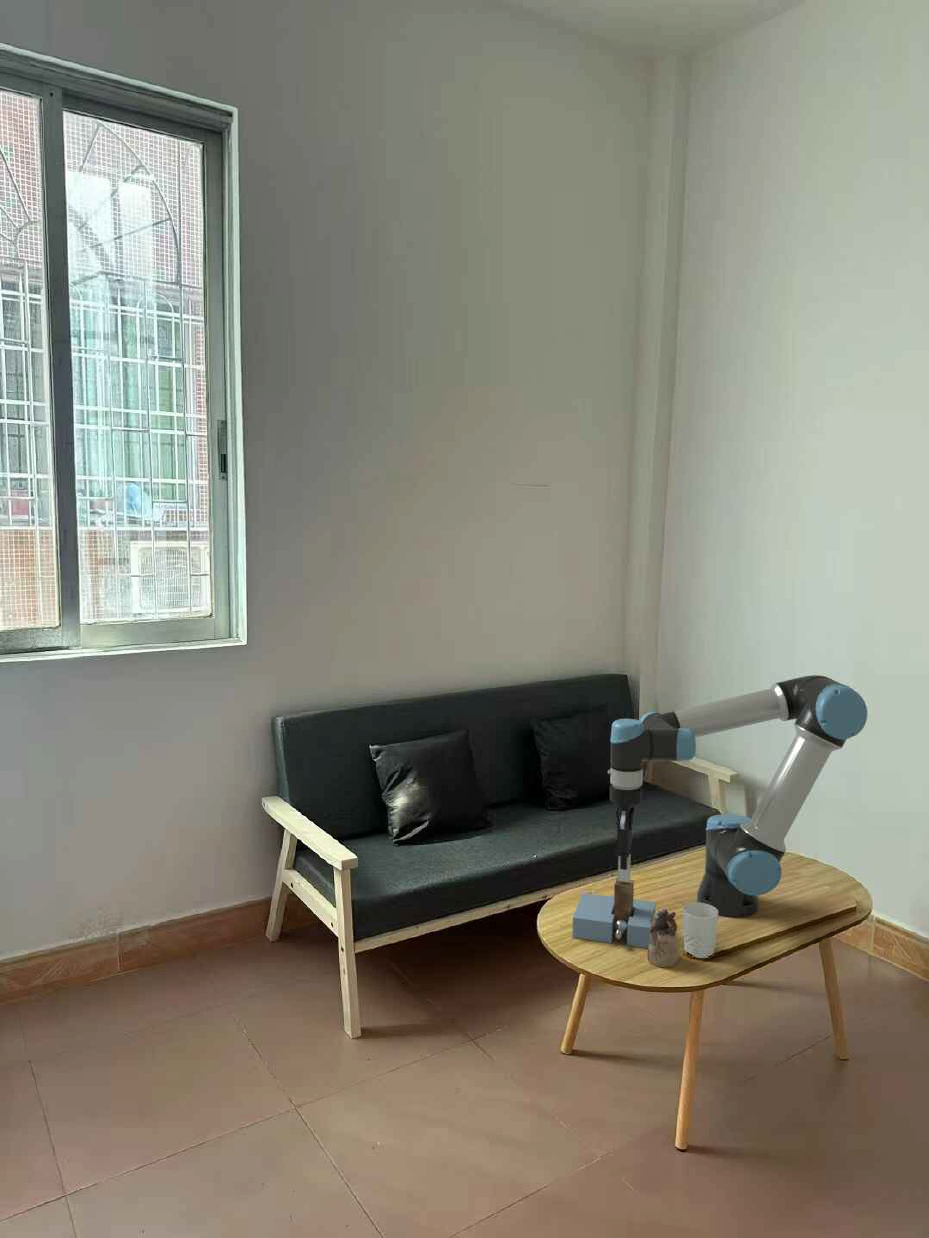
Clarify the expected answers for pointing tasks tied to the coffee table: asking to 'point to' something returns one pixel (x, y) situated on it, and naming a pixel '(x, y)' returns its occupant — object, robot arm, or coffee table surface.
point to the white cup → (699, 929)
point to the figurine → (663, 940)
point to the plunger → (620, 928)
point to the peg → (623, 901)
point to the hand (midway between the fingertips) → (623, 880)
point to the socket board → (611, 920)
